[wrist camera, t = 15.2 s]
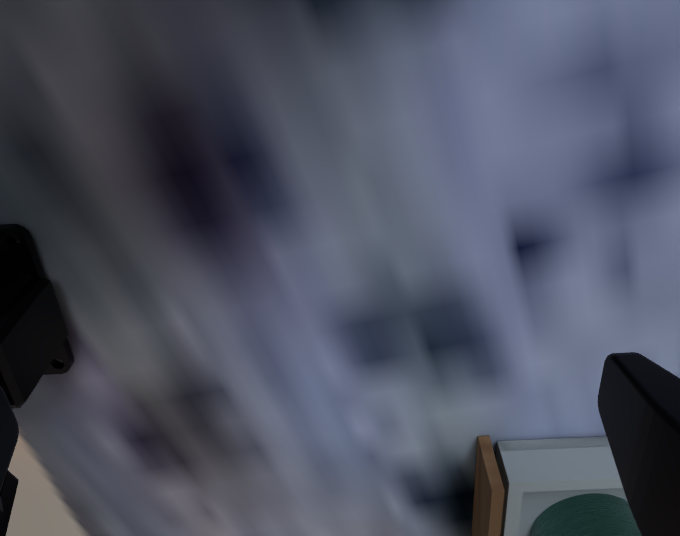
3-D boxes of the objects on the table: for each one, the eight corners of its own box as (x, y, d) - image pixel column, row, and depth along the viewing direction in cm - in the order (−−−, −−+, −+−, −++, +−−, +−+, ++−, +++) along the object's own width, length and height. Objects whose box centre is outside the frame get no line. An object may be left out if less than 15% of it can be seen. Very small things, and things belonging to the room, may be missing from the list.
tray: (486, 565, 32) (496, 609, 30) (497, 441, 28) (509, 482, 26) (660, 558, 32) (682, 602, 30) (699, 431, 27) (727, 473, 25)
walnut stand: (468, 574, 32) (480, 632, 30) (477, 436, 28) (491, 491, 25) (673, 566, 32) (702, 624, 30) (719, 425, 27) (759, 479, 25)
